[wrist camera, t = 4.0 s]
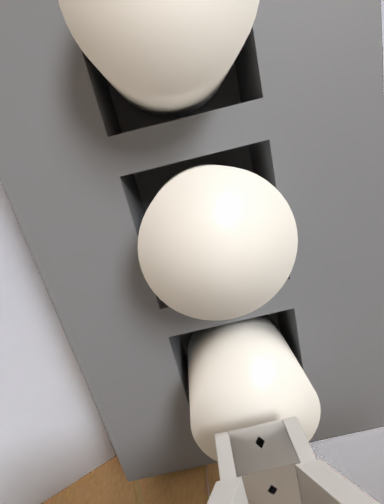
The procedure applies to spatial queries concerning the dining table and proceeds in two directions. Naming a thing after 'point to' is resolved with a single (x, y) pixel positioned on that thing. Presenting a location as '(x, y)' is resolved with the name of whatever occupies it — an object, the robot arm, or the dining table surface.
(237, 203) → the button middle
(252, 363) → the button container side
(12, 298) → the dining table surface
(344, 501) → the robot arm
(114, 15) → the ball
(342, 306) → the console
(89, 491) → the sandwich container
